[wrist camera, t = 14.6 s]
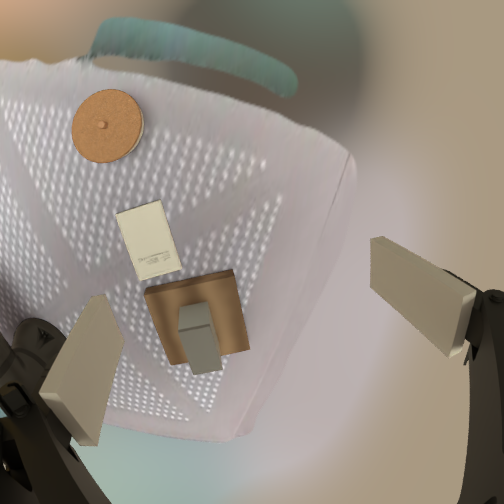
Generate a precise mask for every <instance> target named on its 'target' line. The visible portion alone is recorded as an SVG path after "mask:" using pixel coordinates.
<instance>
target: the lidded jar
mask: <svg viewBox="0 0 504 504" xmlns="http://www.w3.org/2000/svg"><path fill="white" fill-rule="evenodd" d="M143 129H144V119H143V114H142V111H141V109H140V107H139V106H138V104H137V103H136V101H135V100H134V99H133V98H132V97H131V96H130V95H128V94H127V93H125V92H123V91H120V90H115V89H108V90H102V91H99V92H97V93H95V94H93V95H91V96H90V97H88V98H87V99H86V100H85V101H84V102H83V103H82V104H81V105H80V107H79V108H78V110H77V112H76V114H75V116H74V119H73V123H72V139H73V142H74V145H75V147H76V149H77V150H78V152H79V153H80V154H81V155H82V156H83V157H84V158H86V159H87V160H90V161H92V162H96V163H109V162H112V161H116V160H118V159H120V158H122V157H124V156H126V155H127V154H129V153H130V152H131V151H132V150H133V149H134V148H135V147H136V146H137V144H138V143H139V141H140V139H141V137H142V134H143Z"/></svg>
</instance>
